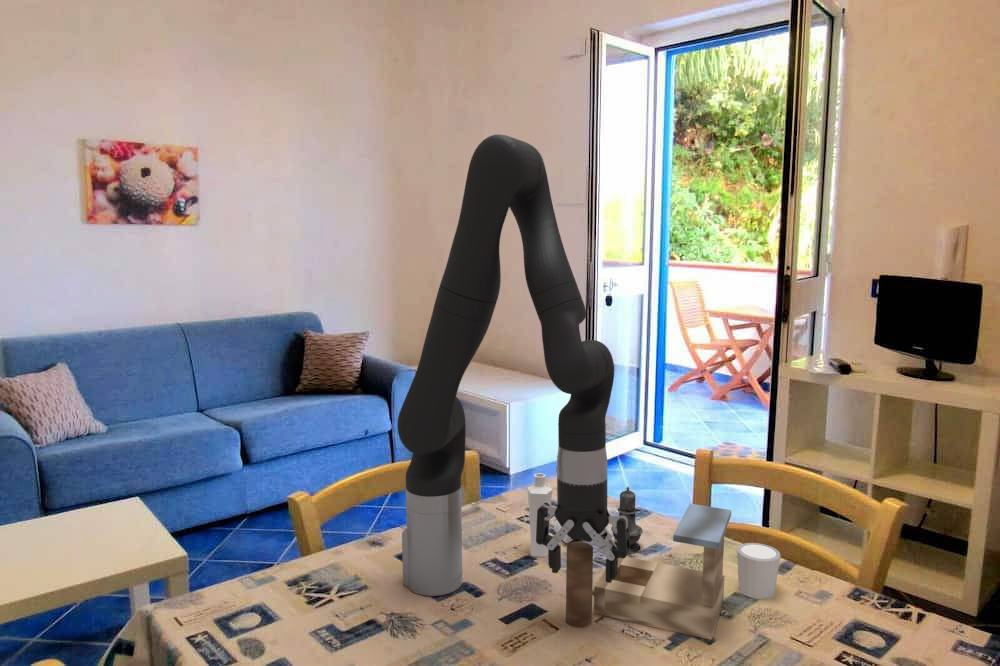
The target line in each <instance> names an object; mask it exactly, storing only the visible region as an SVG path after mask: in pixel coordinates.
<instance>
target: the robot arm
mask: <svg viewBox="0 0 1000 666" xmlns="http://www.w3.org/2000/svg"><path fill="white" fill-rule="evenodd" d="M544 162H545V161H544V159H543V157H542V155H541V153H540V151H539V150H538V149H537V148H536V147H535V146H533V145H532V144H530V143H528V142H526V141H523V140H521V139H517V138H515V137H512V136H508V135H505V134H500V133H499V134H493V135H489V136H488V137H486V138H485V139H482V141H481V142H480V143H479V144H478V145H477V147H476V149H474V151H473V153H472V156H471V159H470V161H469V165H468V171H467V175H466V180H465V185H464V189H463V190H464V191H463V197H462V202H461V206H460V213H459V219H458V222H457V226H456V230H455V233H454V237H453V240H452V243H451V247H450V250H449V255H448V258H447V262H446V266H445V268H444V272H443V274H442V278H441V281H440V284H439V286H438V291H437V294H436V297H435V300H434V301H435V302H434V304H433V305H434V306H433V309H432V313H431V316H430V317H431V318H430V321H429V324H428V327H427V331H426V334H425V337H424V341H423V342H424V343H423V346H422V351H421V353H420V360H419V362H418V366H417V369H416V371H415V374H414V376H413V379H412V382H411V384H410V387H409V389H408V392H407V393H406V395H405V397H404V398H405V399H404V401H403V403H402V405H401V408H400V411H399V412H398V416H397V417H398V418H397V423H396V425H397V426H396V427H397V434H398V436H399V437H398V438H399V440H400V441H401V444H402V445H403V446H404V448H405V449H407V451H408V452H410V453H412V456H411V460H410V463H409V465H408V467H407V469H406V471H405V505H406V506H405V507H406V511H405V513H406V528H405V529H404V530H403V531H402V533H401V548H402V549H401V551H402V553H401V554H402V557H401V558H402V585H403V586H406V587H408V588H409V589H410V591H412V592H414V593H415V594H418V595H422V596H427V597H437V596H438V597H439V596H445V595H448V594H451V593H454V592H455V591H457V590H458V589H459V588H460V587H462V585H463V533H462V532H463V529H462V527H463V526H462V525H463V524H462V521H463V520H462V519H463V517H462V511H463V510H462V477H463V476H462V475H463V471H464V467H465V462H466V461H465V460H466V434H467V433H466V430H467V429H466V415H465V411H464V408H463V407H464V406H463V405H462V402H461V401H460V399H459V398H458V396H457V394H458V390H459V388H460V384H461V381H462V379H463V376H464V374H465V373H466V371H467V370H468V367H469V365H470V363H472V360H473V358H474V356H475V355H476V354H477V351H478V349H479V348H480V346H481V344H482V342H483V340H484V338H485V336H486V334H487V332H488V330H489V326H490V324H491V322H492V317H493V315H494V312H495V309H496V305H497V302H498V300H499V295H500V289H501V281H502V280H501V278H502V276H501V256H500V254H501V253H500V245H501V244H500V242H501V237H502V236H501V235H502V231H503V227H504V223H505V220H506V217H507V215H508V211H509V209H510V211H511V212H512V215H513V217H514V219H515V221H516V223H517V226H518V229H519V233H520V236H521V242H522V251H523V269H524V276H525V281H526V286H527V288H528V292H529V295H530V298H531V301H532V304H533V306H534V309H535V312H536V314H537V317H538V320H539V322H540V327H541V342H542V347H543V348H542V349H543V357H544V362H545V368H546V372H547V374H548V376H549V378H550V380H551V381H552V384H554V386H555V387H556V388H557V389H558V390H559V391H561V392H562V393H564V394H569V395H570V396H569V397H570V398H569V400H568V402H567V404H565V405H564V407H562V408H561V409H560V411H559V412H558V413H559V414H558V422H557V423H558V424H557V426H558V427H557V428H558V435H557V436H558V441H557V442H558V444H557V445H558V447H557V455H556V458H557V459H556V467H555V469H556V470H555V471H556V487H557V488H556V495H557V496H556V498H557V499H556V500H557V506H552V505H551V506H550V505H549V504H548V503H544V504H543V505H541V506H540V508H539V509H538V510H537V528H536V542H537V544H539V545H541V544H543V545H545V546H546V547H547V548H548V555H547V557H548V559H547V560H548V567H549V569H551V573H553V574H558V573H559V571H560V570H561V567H562V558H561V557H562V556H561V554H562V552H561V551H562V549H561V545H560V542H561V541H563V540H562V539H563V538H564V537H565V535H566V534H567V535H568V536H569V537H571V539H573V540H575V541H576V540H581V541H583V542H586V543H590V542H593V543H594V545H595V546H596V547H597V548H598V549H599V550H601V551H602V553H603V554H604V556H605V557H606V559H605V570H606V582H608V583H611V582H612V580H614V579H615V577H616V576H617V573H618V558H626V557H628V553H629V551H630V531H629V517H628V515H627V514H622V515H621V516H619V515H610V512H609V510H608V456H607V449H606V448H607V447H606V442H607V441H606V440H607V439H606V437H607V436H606V435H607V434H606V433H607V432H606V430H607V429H606V428H607V427H606V425H607V424H606V417H607V416H606V415H607V413H608V408H609V405H610V401H611V396H612V391H613V386H614V380H615V364H614V358H613V356H612V353H611V351H610V349H609V348H608V347H607V345H606V344H604V343H603V342H601V341H599V340H595V339H586V340H583V341H582V337H581V332H580V324H582V323H583V322H584V321H585V320H586V317H587V309H586V306H585V303H584V300H583V297H582V295H581V292H580V289H579V286H578V284H577V281H576V278H575V276H574V273H573V270H572V268H571V264H570V261H569V260H568V257H567V253H566V250H565V248H564V244H563V240H562V237H561V234H560V231H559V226H558V223H557V218H556V213H555V209H554V205H553V201H552V195H551V189H550V185H549V179H548V173H547V169H546V166H545V163H544ZM553 516H554V517H555V520H556V519H557V521H558V522H559V524H560V525H561V529H560V530H559V531H558V532H557V533H556V532H555V534H554V536H552V535H550V525H549V520H550V521H551V520H552V518H554V517H553ZM609 524H610V525H611V527H612V526H613V529H614V530H615V531H617V538H618V547H617V546H616V545H615V541H613V538H612V535H611V533H610V532H609V530H608V529H607V527H608V525H609Z"/></svg>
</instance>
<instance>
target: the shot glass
mask: <svg viewBox="0 0 1000 666" xmlns="http://www.w3.org/2000/svg"><path fill="white" fill-rule="evenodd" d="M736 554H737V556H736V558H737V576H738V577H737V578H738V591H739V592H740V593H741V594H742V595H745V596H746V597H749V598H751V599H754V600H755V599H757V600H768V599H771V598H773V597H774V595H775V593H776V587H777V581H778V575H779V567H780V564H781V563H780V562H781V553H780V551H779V550H778V549H777V548H775V547H773V546H770V545H767V544H763V543H760V542H745V543H742V544H738V546H736Z"/></svg>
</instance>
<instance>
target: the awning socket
mask: <svg viewBox="0 0 1000 666" xmlns="http://www.w3.org/2000/svg"><path fill="white" fill-rule="evenodd" d="M731 518H732V509H726V508H722V507H721V508H720V507H714V506H708V505H701V504H695V503H689V504H688V506H687V508H686V510H685V511H684V513H683V515H682V518H681V520H680V522H679V523H678V526H677V527H676V529H675V530H674V532H673V538H672V541H673V542H676V543H681V544H688V545H693V546H699V547H703V556H702V557H703V559H702V571H701V570H698V569H691V568H687V567H683V566H682V567H681V566H677V565H672V564H665V563H662V562H661V563H660V562H655V561H652V560H651V561H650V560H645V559H640V558H636V557H630V556H626V558H618V573H617V576H616V577H615V579H614V580H612V582H611V583H608V582H606V569H604V571H603V573H602V574H601V576H600V578H598V581H597V582H596V583H595V585H594V587H593V589H594V591H593V592H594V593H593V594H594V597H593V613H594V614H595V615H596V614H597V615H602V616H605V617H611V618H614V619H618V620H622V621H626V622H631V623H634V624H635V623H636V624H641V625H643V626H644V625H645V626H649V627H654V628H657V629H660V630H661V629H662V630H666V631H670V632H674V633H675V632H676V633H680V634H683V635H688V636H693V637H696V638H697V637H698V638H702V639H706V640H710V641H712V640H713V637H714V633H715V630H716V627H717V622H718V619H719V617H720V614H721V610H722V606H723V603H724V598H725V596H724V592H725V574H724V575H723V571H724V570H723V569H724V554H725V553H724V551H725V533H726V531H727V528H728V526H729V522H730V520H731Z"/></svg>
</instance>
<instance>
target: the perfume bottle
mask: <svg viewBox="0 0 1000 666" xmlns="http://www.w3.org/2000/svg"><path fill="white" fill-rule="evenodd" d="M533 475H534V484H532V485H530V486H528V487H527V500H528V513H529V514H528V515H529V530H530V546H529V550H528V551H529V554H530V556H531V557H540V558H546V557H548V548H547V547H546V546H545V545H543V544H541V545H539V544H537V542H536V528H537V510H538V509H539V508H540V506H541V505H543V504H544V503H548V504H549V505H550V506H552V497H553V488H552V487H550V486H547V485H546V474H544V473H543V472H542V473H540V472H539V473H534V474H533ZM550 521H551V519H550V520H549V526H550V523H551V522H550Z"/></svg>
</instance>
